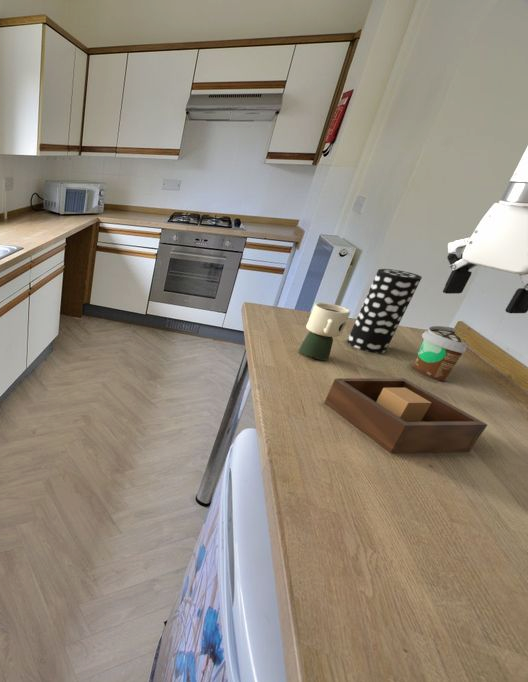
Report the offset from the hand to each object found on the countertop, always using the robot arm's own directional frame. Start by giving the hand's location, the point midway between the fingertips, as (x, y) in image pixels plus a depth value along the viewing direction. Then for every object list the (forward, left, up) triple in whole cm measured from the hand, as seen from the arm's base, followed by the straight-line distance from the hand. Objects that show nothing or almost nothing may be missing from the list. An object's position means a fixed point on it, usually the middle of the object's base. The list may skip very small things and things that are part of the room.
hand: (481, 302), depth 70 cm
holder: (+8, +3, -24) cm, 25 cm away
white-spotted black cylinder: (-18, -31, -24) cm, 43 cm away
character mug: (+2, -25, -24) cm, 35 cm away
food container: (-21, -18, -24) cm, 37 cm away
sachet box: (+8, +3, -23) cm, 25 cm away
